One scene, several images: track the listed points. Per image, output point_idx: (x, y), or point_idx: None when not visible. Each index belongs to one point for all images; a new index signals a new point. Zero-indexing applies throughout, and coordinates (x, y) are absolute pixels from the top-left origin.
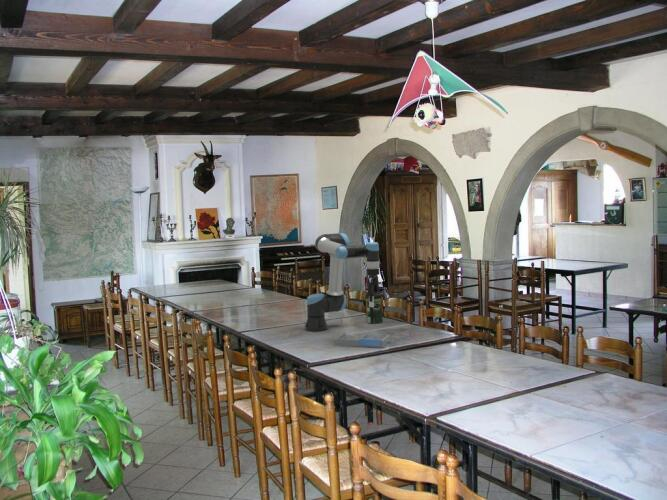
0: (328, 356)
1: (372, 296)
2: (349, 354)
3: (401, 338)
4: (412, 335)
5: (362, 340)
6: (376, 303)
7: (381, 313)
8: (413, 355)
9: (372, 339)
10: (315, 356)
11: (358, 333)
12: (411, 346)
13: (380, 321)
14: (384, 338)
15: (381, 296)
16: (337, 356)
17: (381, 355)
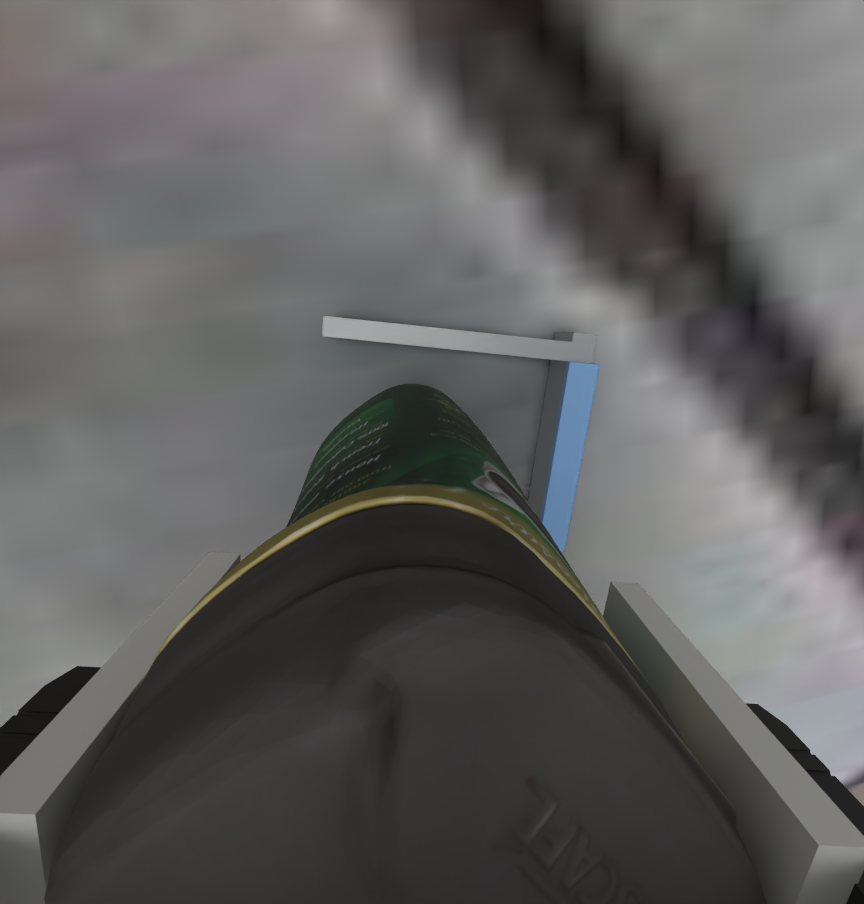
0: (814, 654)
1: (854, 863)
2: (772, 543)
3: (195, 224)
4: (31, 122)
5: (569, 520)
6: (573, 573)
7: (438, 414)
8: (851, 18)
9: (584, 438)
10: (806, 722)
11: (90, 621)
12: (511, 78)
13: (459, 408)
14: (489, 342)
15: (433, 541)
16: (819, 604)
17: (822, 311)
